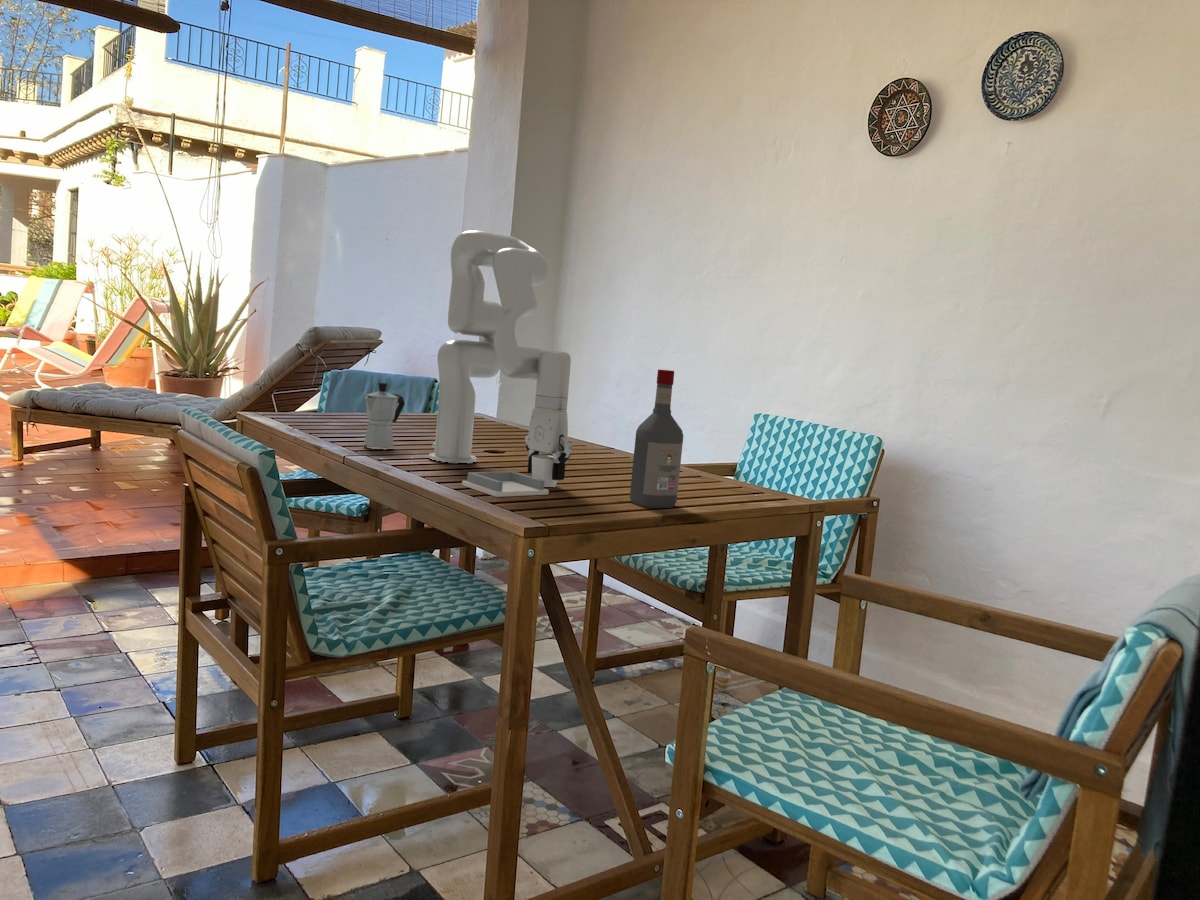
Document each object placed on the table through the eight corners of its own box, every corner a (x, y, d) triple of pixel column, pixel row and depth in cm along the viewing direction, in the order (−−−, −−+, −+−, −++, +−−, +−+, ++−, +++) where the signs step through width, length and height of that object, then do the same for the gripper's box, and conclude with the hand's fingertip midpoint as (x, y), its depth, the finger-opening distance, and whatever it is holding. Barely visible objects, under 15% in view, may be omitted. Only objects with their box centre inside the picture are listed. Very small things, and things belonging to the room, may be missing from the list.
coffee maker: (373, 451, 251) (377, 384, 249) (350, 446, 255) (354, 380, 253) (412, 448, 263) (416, 384, 261) (389, 444, 268) (393, 381, 266)
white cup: (523, 483, 221) (525, 454, 220) (545, 482, 226) (547, 453, 225) (542, 489, 217) (545, 459, 216) (564, 487, 221) (567, 458, 221)
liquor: (681, 508, 208) (695, 373, 205) (646, 508, 204) (660, 370, 200) (658, 499, 216) (671, 369, 213) (624, 500, 212) (637, 367, 208)
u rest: (461, 485, 212) (462, 471, 211) (513, 483, 221) (514, 470, 220) (495, 496, 201) (496, 483, 201) (548, 494, 210) (549, 481, 210)
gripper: (516, 399, 223) (511, 471, 225) (560, 407, 210) (554, 483, 212) (542, 400, 228) (537, 470, 230) (586, 408, 215) (580, 482, 217)
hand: (545, 476), depth 221 cm, fingers open, 9 cm apart
